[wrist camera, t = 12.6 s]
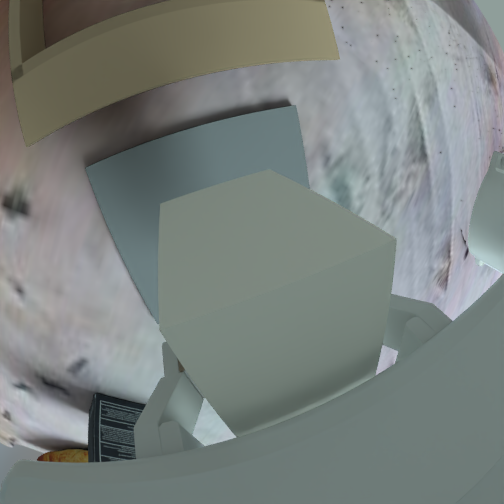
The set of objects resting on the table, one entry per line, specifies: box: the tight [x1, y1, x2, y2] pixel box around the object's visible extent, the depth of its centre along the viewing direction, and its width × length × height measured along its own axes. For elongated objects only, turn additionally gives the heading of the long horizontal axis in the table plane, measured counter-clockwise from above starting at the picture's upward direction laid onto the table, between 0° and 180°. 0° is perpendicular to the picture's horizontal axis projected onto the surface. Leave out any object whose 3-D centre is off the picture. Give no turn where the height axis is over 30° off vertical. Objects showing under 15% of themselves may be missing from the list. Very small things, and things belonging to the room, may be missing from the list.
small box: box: [88, 393, 146, 463], centre depth 22 cm, size 11×6×10 cm, turn 57°
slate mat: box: [85, 105, 310, 324], centre depth 18 cm, size 14×13×1 cm
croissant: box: [37, 449, 88, 463], centre depth 26 cm, size 21×10×8 cm
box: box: [158, 169, 396, 437], centre depth 10 cm, size 4×9×7 cm, turn 13°
